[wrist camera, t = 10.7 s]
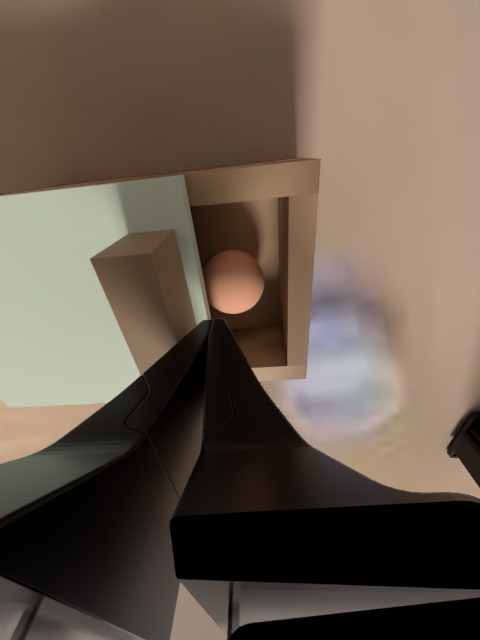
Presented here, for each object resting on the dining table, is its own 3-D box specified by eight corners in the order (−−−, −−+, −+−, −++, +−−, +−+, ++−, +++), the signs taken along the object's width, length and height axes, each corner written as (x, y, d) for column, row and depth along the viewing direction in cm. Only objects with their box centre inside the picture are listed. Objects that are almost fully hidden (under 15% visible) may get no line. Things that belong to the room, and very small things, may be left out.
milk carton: (193, 484, 30) (132, 854, 14) (251, 479, 29) (256, 871, 13) (209, 509, 34) (177, 823, 18) (261, 505, 33) (276, 834, 17)
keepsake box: (296, 158, 12) (320, 158, 8) (293, 329, 17) (306, 378, 13) (57, 185, 13) (-23, 197, 9) (125, 341, 18) (93, 389, 14)
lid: (183, 174, 8) (152, 183, 5) (223, 386, 14) (218, 443, 11) (-144, 211, 9) (-312, 235, 6) (17, 397, 14) (-35, 452, 12)
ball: (261, 239, 13) (264, 260, 10) (263, 293, 15) (267, 323, 12) (201, 244, 13) (189, 266, 11) (210, 297, 15) (203, 328, 12)
